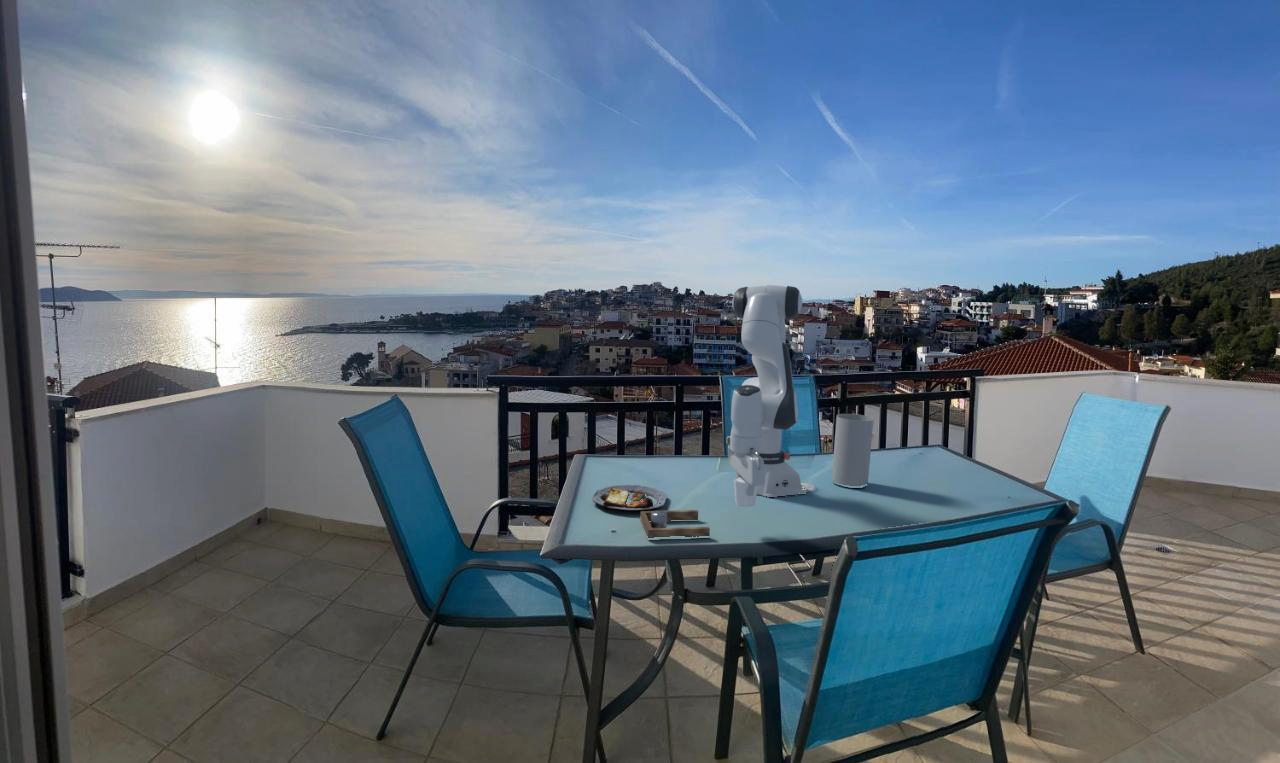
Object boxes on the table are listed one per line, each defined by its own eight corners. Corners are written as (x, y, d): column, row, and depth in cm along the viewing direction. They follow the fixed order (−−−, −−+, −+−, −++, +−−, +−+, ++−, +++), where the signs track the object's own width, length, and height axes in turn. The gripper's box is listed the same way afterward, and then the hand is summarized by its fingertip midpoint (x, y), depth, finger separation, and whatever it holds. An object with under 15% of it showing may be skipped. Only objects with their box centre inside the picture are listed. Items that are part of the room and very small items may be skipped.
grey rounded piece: (665, 526, 173) (665, 510, 172) (668, 533, 168) (668, 516, 167) (649, 527, 172) (649, 510, 171) (651, 533, 167) (652, 516, 167)
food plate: (660, 518, 179) (661, 507, 178) (585, 513, 182) (585, 501, 182) (670, 494, 203) (670, 484, 203) (603, 489, 207) (603, 480, 207)
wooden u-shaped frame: (696, 519, 179) (697, 509, 179) (709, 538, 165) (709, 528, 164) (640, 521, 176) (640, 511, 176) (648, 540, 162) (648, 530, 162)
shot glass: (730, 499, 173) (731, 476, 172) (753, 498, 173) (754, 475, 172) (736, 508, 166) (736, 483, 165) (760, 507, 166) (761, 483, 165)
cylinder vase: (849, 477, 227) (854, 413, 224) (875, 487, 216) (881, 419, 212) (824, 481, 222) (829, 415, 218) (849, 491, 211) (854, 421, 207)
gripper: (771, 453, 157) (770, 503, 159) (744, 434, 177) (744, 479, 179) (748, 454, 156) (747, 505, 158) (724, 436, 176) (724, 480, 178)
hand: (745, 491), depth 169 cm, fingers closed on shot glass, 5 cm apart
